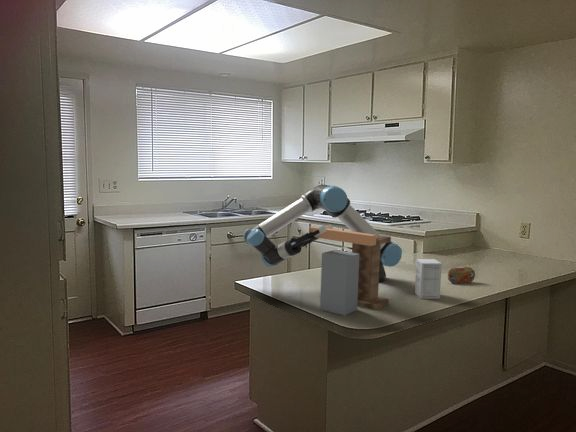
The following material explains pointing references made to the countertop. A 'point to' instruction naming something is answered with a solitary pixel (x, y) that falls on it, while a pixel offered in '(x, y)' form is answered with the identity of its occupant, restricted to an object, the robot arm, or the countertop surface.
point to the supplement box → (428, 278)
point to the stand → (369, 274)
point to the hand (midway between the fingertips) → (328, 227)
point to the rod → (347, 236)
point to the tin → (461, 275)
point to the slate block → (339, 282)
